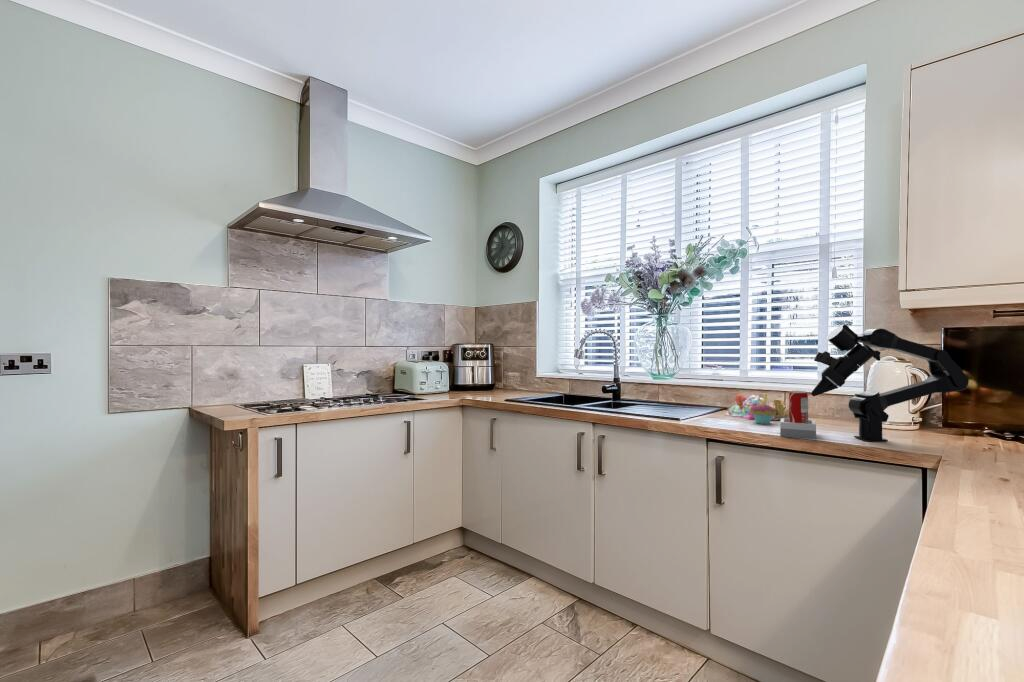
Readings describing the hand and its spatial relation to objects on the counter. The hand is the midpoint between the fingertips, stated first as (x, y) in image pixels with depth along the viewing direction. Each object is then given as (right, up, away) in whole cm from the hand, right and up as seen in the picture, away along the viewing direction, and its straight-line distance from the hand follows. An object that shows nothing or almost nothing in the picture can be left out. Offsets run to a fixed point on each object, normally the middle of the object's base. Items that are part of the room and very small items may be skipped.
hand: (812, 394), depth 163 cm
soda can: (-4, -11, +2) cm, 12 cm away
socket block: (-4, -14, +2) cm, 14 cm away
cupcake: (-3, -14, +27) cm, 30 cm away
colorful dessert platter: (+4, -14, +44) cm, 47 cm away
